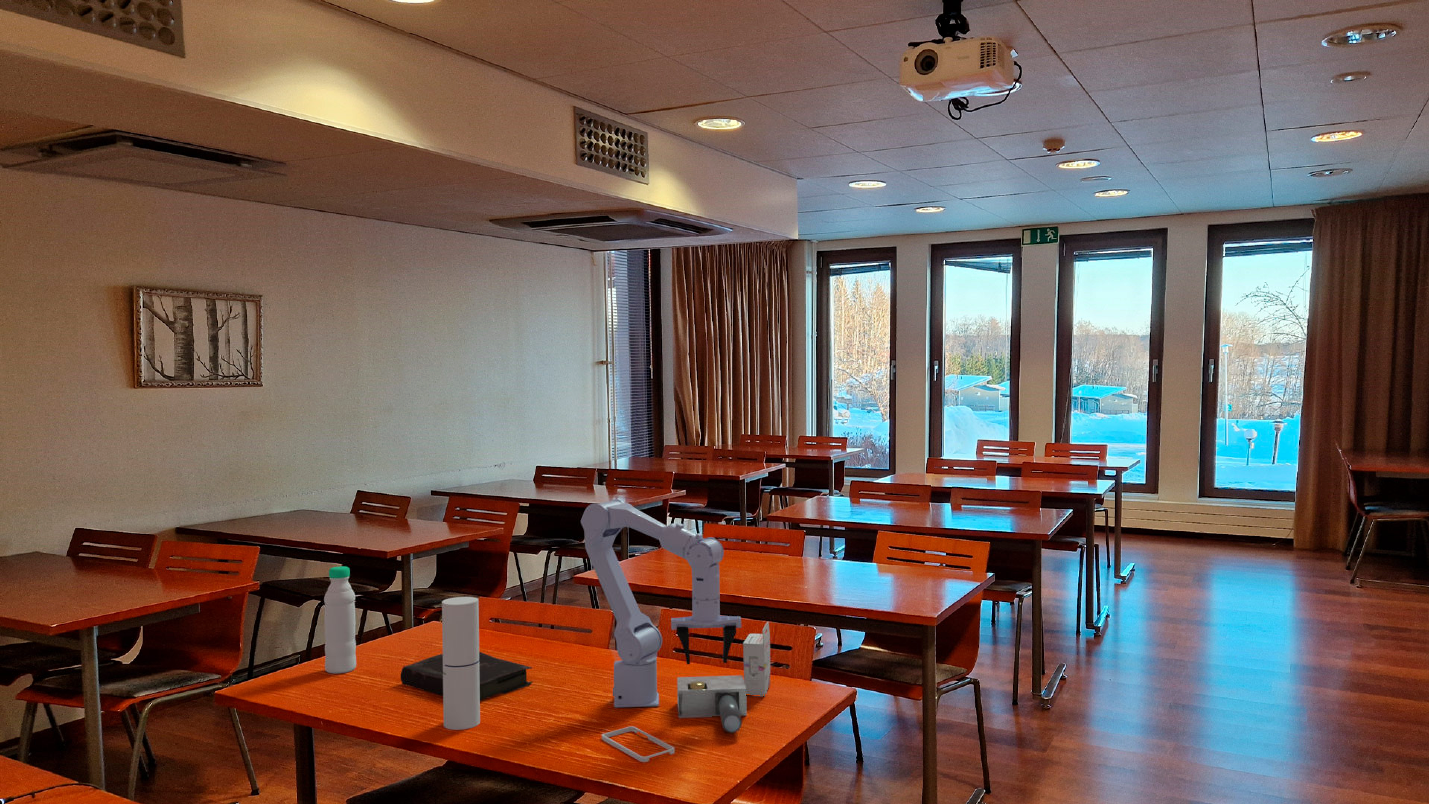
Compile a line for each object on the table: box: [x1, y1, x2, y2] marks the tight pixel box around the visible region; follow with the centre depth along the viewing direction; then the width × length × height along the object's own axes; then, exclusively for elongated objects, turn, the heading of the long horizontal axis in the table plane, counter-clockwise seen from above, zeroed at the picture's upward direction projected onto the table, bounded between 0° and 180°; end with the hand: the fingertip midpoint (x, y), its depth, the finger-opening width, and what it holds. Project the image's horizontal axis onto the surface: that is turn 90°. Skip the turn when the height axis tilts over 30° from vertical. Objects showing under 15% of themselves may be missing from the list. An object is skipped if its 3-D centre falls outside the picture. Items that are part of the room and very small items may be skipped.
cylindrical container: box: [441, 596, 481, 731], centre depth 190 cm, size 7×7×25 cm
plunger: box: [690, 681, 705, 690], centre depth 195 cm, size 3×3×2 cm
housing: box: [676, 674, 748, 719], centre depth 197 cm, size 14×9×6 cm, turn 94°
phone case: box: [601, 725, 676, 763], centre depth 177 cm, size 7×1×15 cm
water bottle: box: [323, 565, 357, 675], centre depth 227 cm, size 7×7×25 cm
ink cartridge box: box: [742, 621, 771, 697], centre depth 209 cm, size 9×5×15 cm, turn 168°
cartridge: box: [718, 693, 742, 734], centre depth 187 cm, size 4×12×4 cm, turn 4°
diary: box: [400, 651, 533, 701], centre depth 216 cm, size 19×25×5 cm
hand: (706, 662), depth 195 cm, fingers open, 7 cm apart
